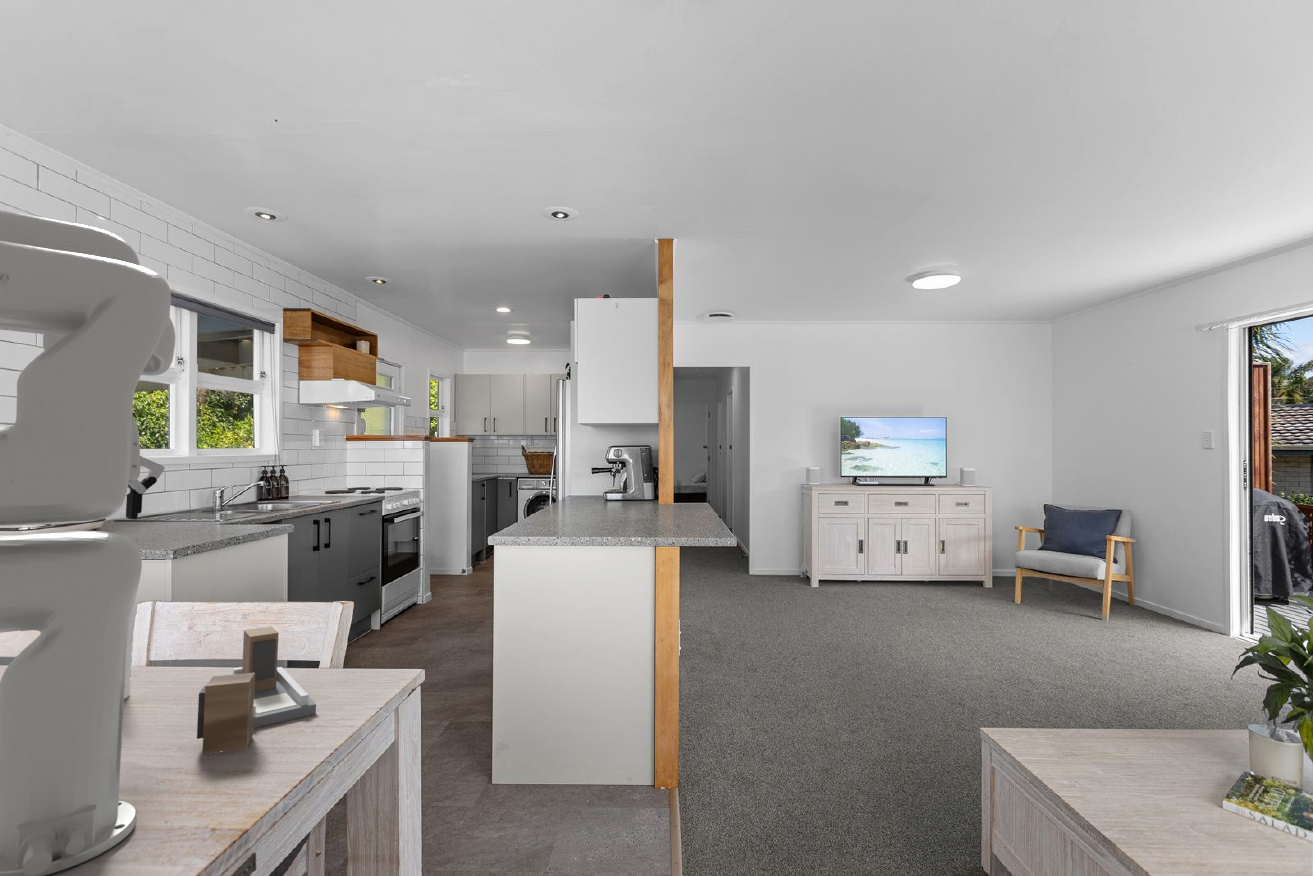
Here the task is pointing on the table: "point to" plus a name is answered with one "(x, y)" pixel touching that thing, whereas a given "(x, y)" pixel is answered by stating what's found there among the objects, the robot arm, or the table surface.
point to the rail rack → (271, 681)
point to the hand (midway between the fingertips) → (91, 520)
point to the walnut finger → (226, 713)
